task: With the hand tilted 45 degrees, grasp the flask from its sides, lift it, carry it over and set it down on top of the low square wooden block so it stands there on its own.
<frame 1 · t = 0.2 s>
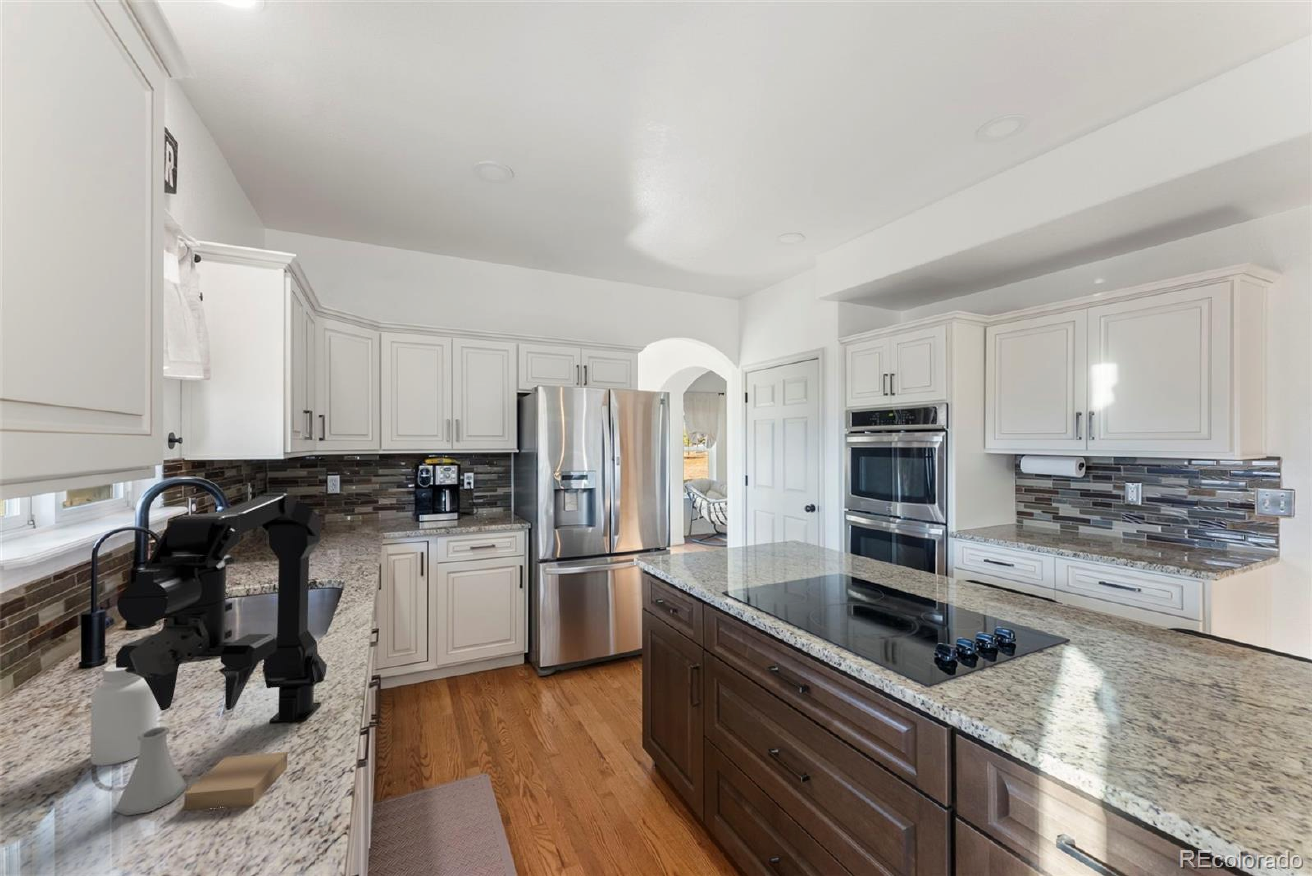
hand: (198, 709, 76), 14 cm above the counter, tool pointing down, fingers open, 9 cm apart
pill bottle: (123, 754, 89), on the counter
flask: (151, 801, 77), on the counter
square wooden block: (238, 791, 80), on the counter
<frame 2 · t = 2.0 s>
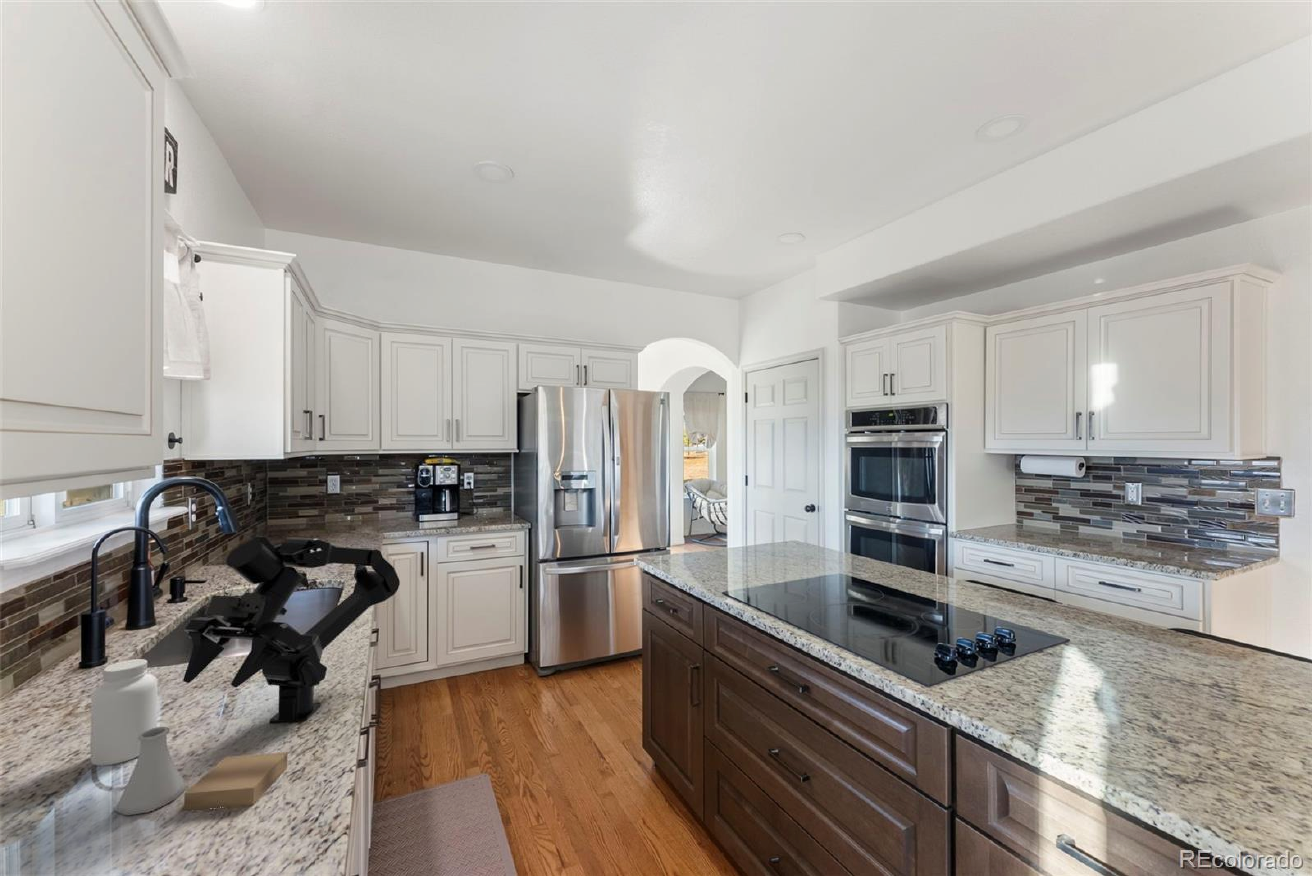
hand: (209, 684, 85), 13 cm above the counter, tool tilted 45°, fingers open, 9 cm apart
nothing on the counter moved.
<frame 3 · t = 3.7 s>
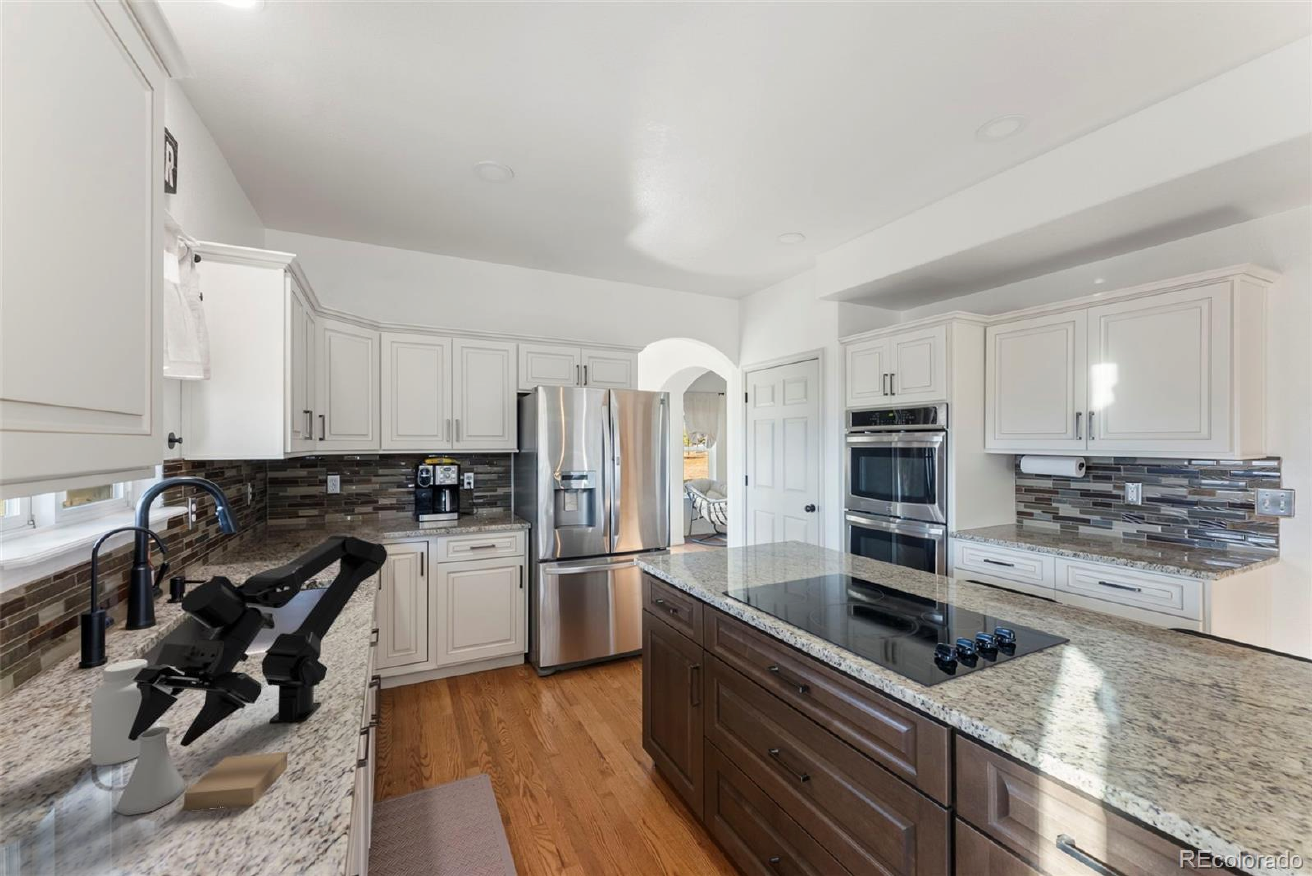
hand: (156, 742, 78), 8 cm above the counter, tool tilted 45°, fingers open, 9 cm apart
nothing on the counter moved.
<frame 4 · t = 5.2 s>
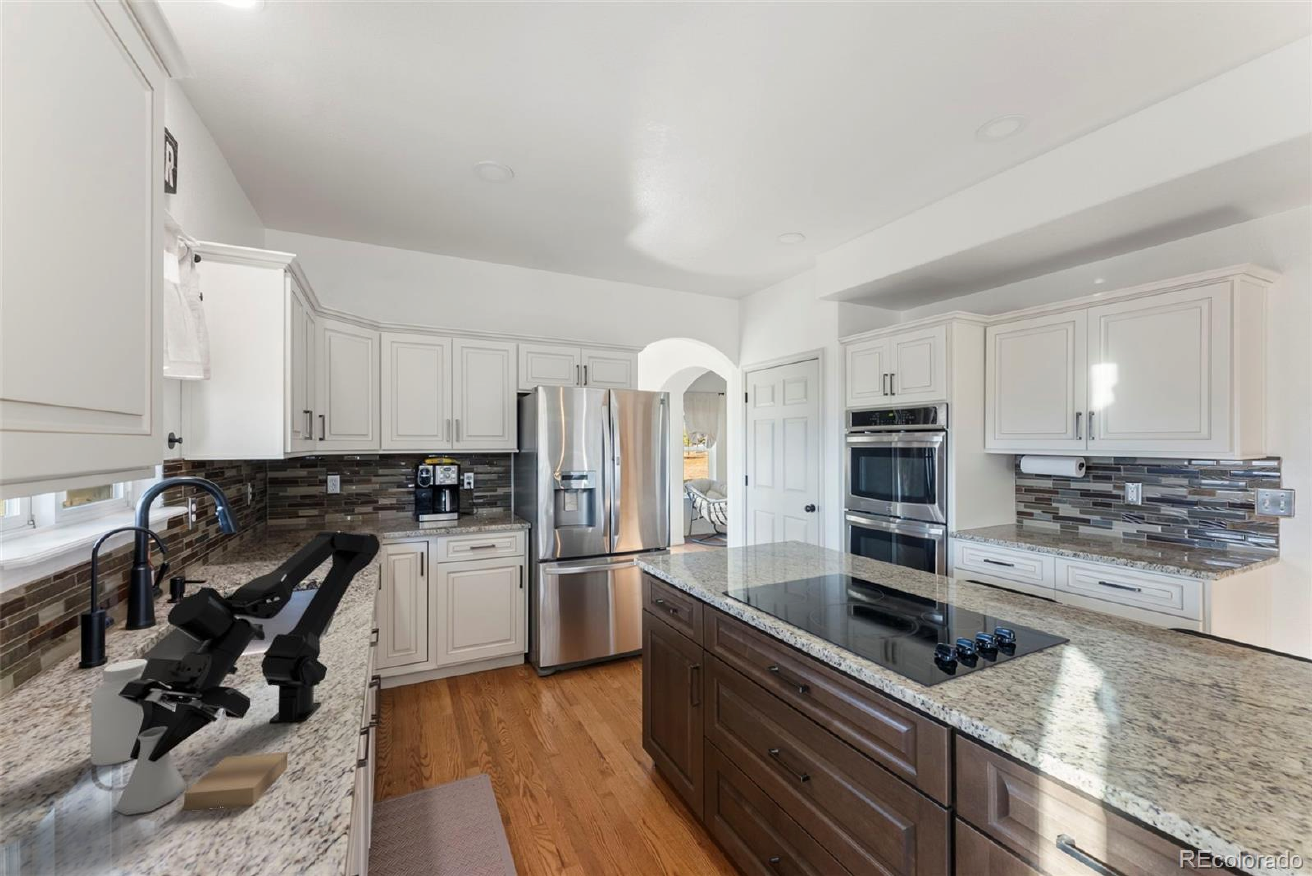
hand: (142, 760, 76), 7 cm above the counter, tool tilted 45°, fingers closed on flask, 3 cm apart
flask: (151, 801, 77), on the counter, touching gripper
everything else where it was.
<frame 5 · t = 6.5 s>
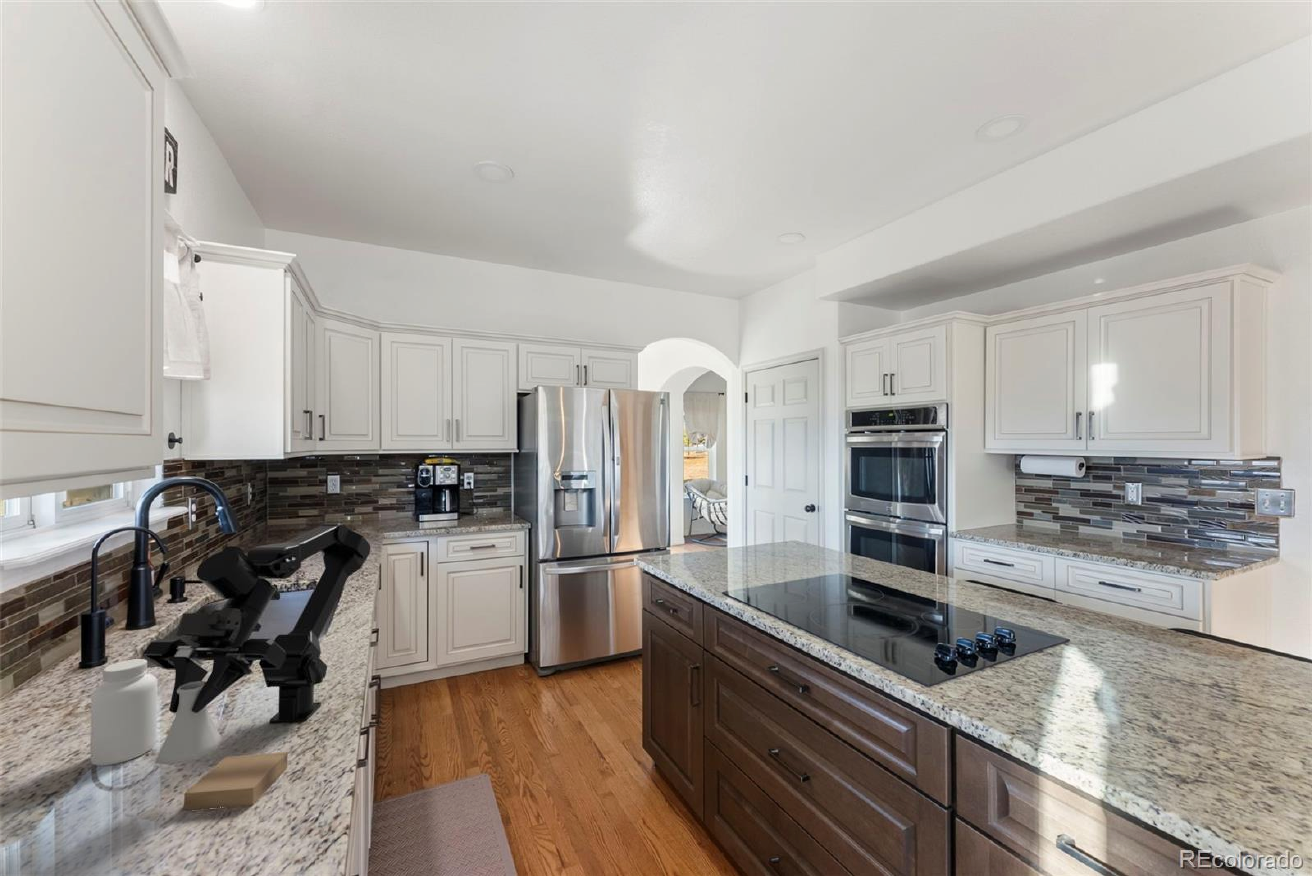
hand: (183, 712, 77), 13 cm above the counter, tool tilted 45°, fingers closed on flask, 3 cm apart
flask: (189, 753, 78), point 6 cm above the counter, touching gripper
everything else where it was.
when the fingers open (10 cm above the counter, at t = 7.9 s): flask stays where it is, resting on square wooden block.
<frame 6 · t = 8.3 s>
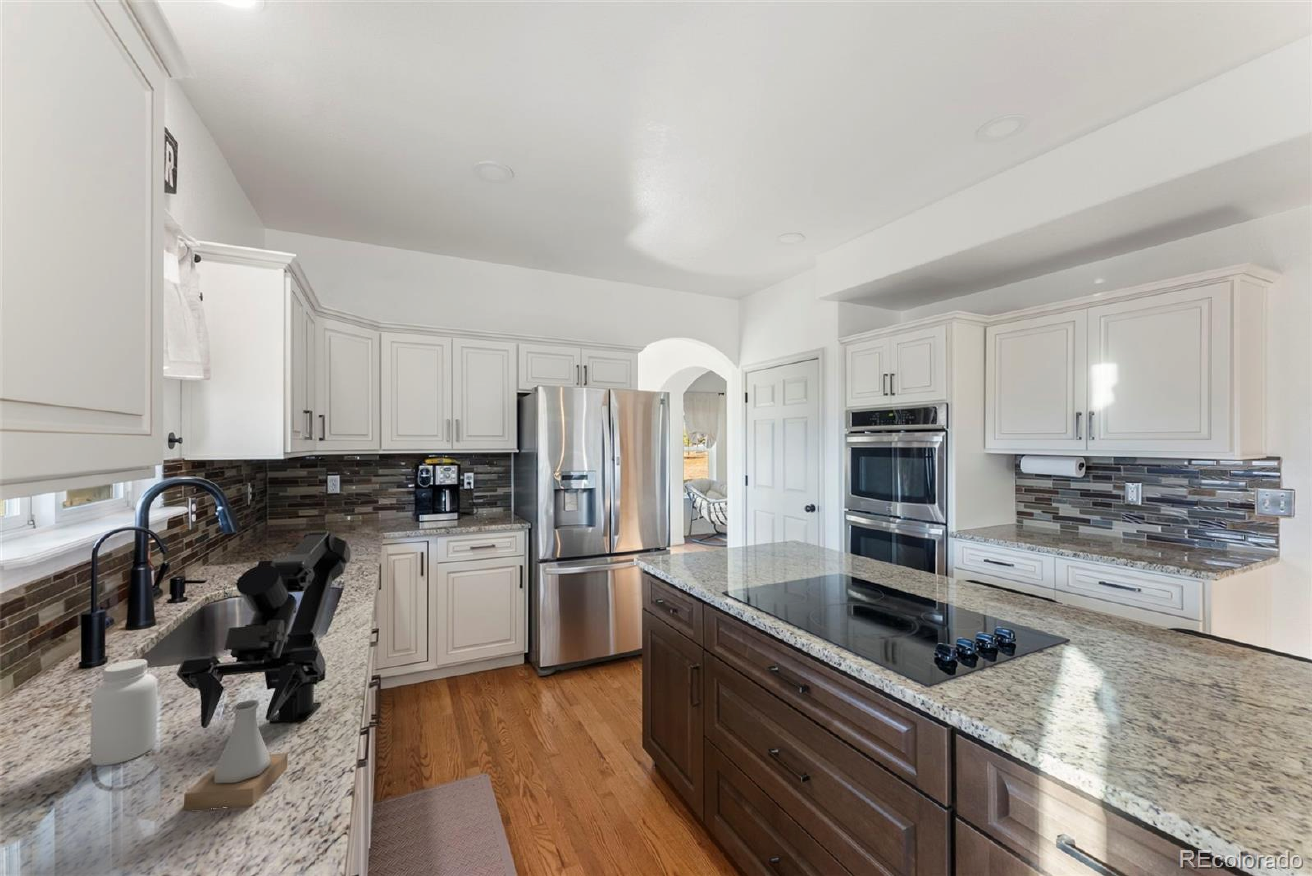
hand: (236, 723, 79), 11 cm above the counter, tool tilted 45°, fingers open, 8 cm apart
flask: (242, 771, 80), point 2 cm above the counter, touching square wooden block
square wooden block: (238, 792, 80), on the counter, touching flask
everything else where it was.
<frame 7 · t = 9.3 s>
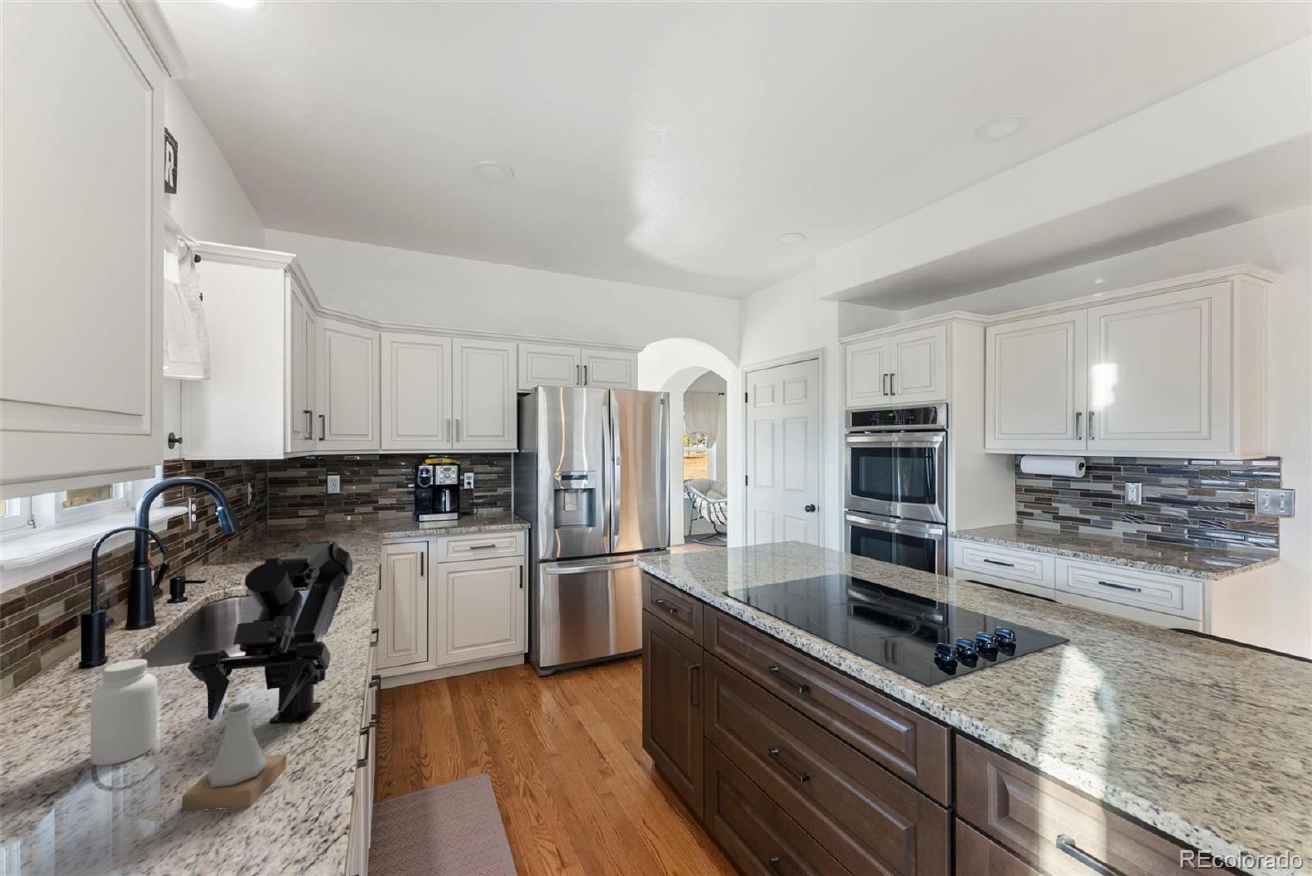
hand: (245, 715, 82), 10 cm above the counter, tool tilted 45°, fingers open, 9 cm apart
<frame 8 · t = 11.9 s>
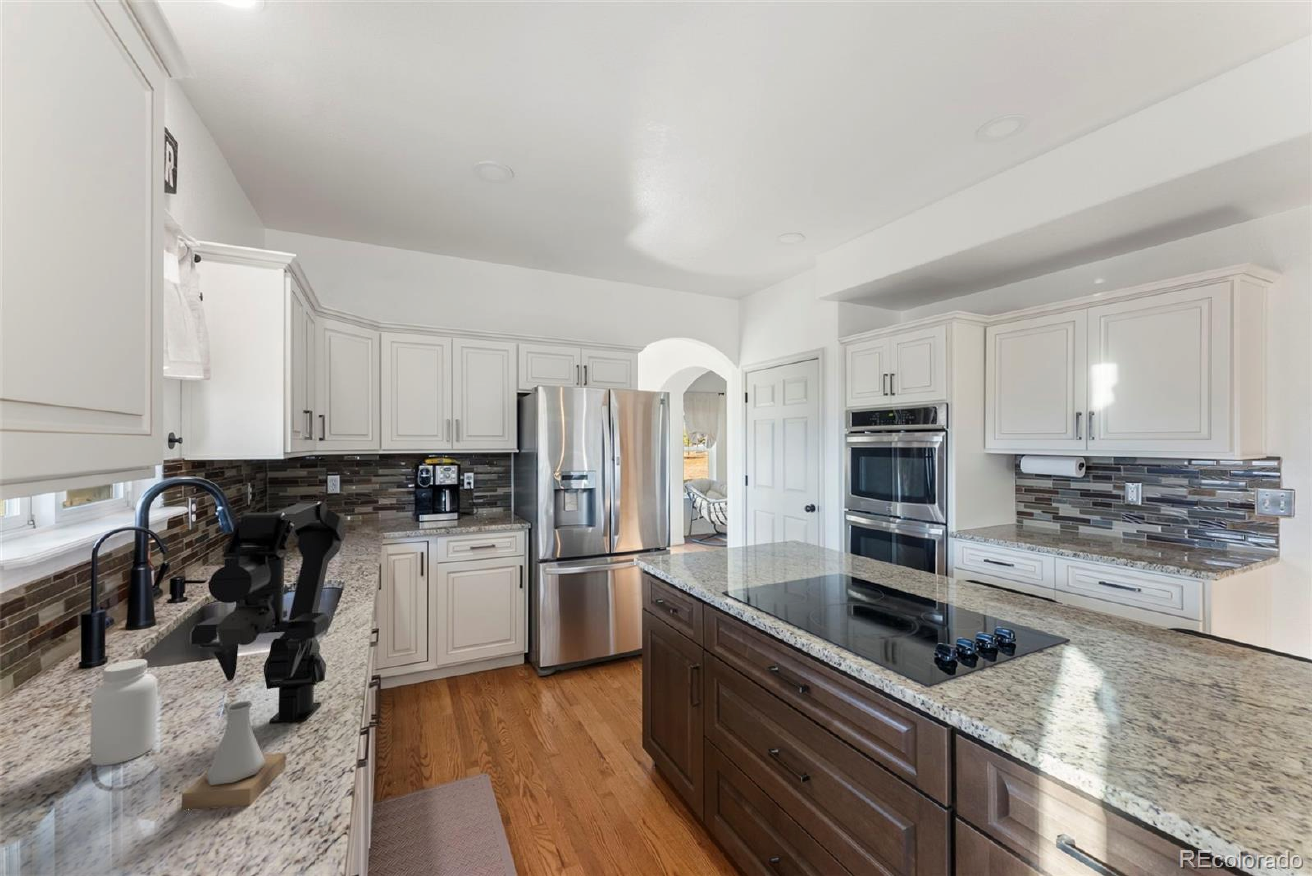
hand: (261, 678, 89), 13 cm above the counter, tool pointing down, fingers open, 9 cm apart
nothing on the counter moved.
at the end: flask inside the target area on the square wooden block (0.1 cm from its centre), point 2.9 cm above the square wooden block's base; flask tilted 1°; the gripper is holding nothing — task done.
